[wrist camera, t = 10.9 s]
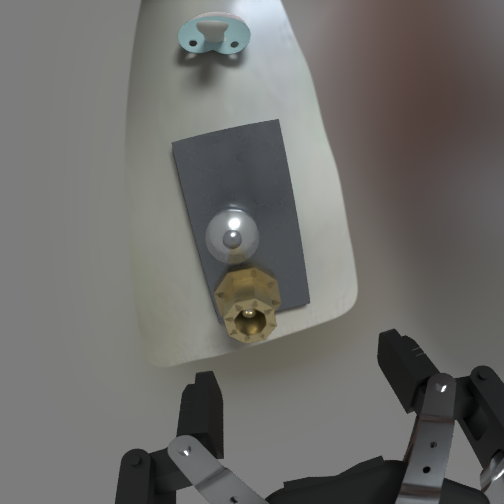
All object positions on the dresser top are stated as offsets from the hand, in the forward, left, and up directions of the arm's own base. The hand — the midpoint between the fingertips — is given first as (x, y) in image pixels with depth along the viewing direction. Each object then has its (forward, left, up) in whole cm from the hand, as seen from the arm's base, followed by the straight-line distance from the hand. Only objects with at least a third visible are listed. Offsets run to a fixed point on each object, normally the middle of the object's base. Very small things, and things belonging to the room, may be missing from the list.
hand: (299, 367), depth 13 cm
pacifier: (-24, 0, -21) cm, 32 cm away
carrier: (-2, -1, -21) cm, 21 cm away
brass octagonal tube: (+6, -3, -20) cm, 21 cm away
